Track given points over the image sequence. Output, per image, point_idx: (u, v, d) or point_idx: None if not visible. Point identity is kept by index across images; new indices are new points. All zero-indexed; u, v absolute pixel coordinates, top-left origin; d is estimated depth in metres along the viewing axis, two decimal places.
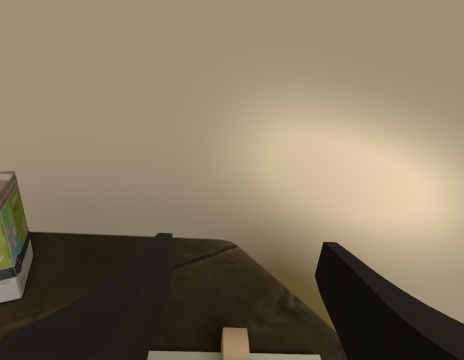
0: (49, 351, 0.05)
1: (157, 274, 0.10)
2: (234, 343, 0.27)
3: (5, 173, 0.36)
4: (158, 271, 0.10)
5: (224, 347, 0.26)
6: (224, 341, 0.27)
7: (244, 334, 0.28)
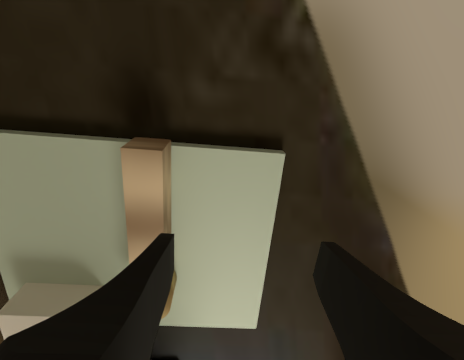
0: (54, 352, 0.05)
1: (160, 274, 0.10)
2: (140, 176, 0.17)
3: None
4: (161, 271, 0.10)
5: (124, 180, 0.17)
6: (124, 171, 0.17)
7: (156, 161, 0.17)
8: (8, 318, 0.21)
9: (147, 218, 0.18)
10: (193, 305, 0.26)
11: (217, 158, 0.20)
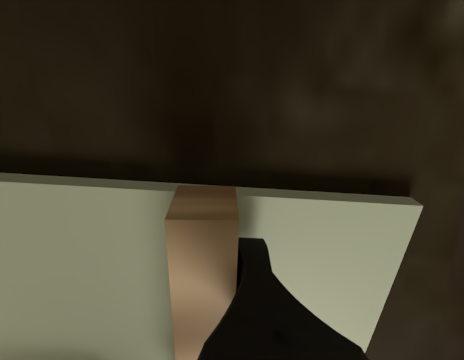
0: (267, 357, 0.05)
1: None
2: (198, 262, 0.10)
3: None
4: None
5: (171, 270, 0.10)
6: (170, 256, 0.10)
7: (228, 237, 0.09)
8: None
9: (208, 322, 0.11)
10: None
11: (317, 213, 0.13)
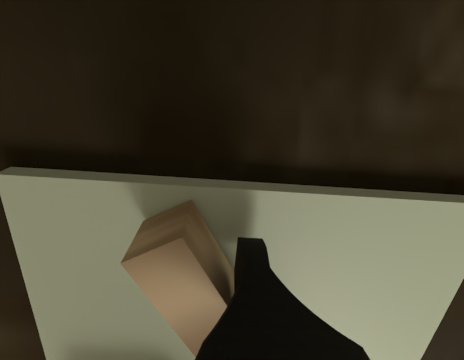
0: (264, 357, 0.05)
1: None
2: (172, 286, 0.10)
3: None
4: None
5: (155, 302, 0.10)
6: (146, 291, 0.10)
7: (182, 255, 0.10)
8: None
9: None
10: None
11: (397, 212, 0.13)
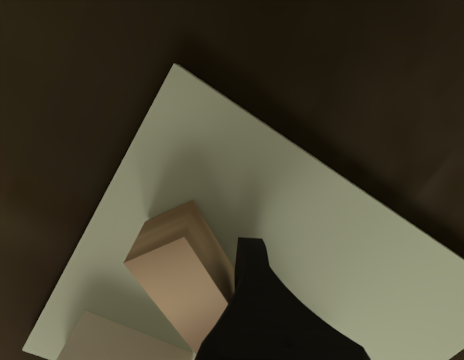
0: (264, 357, 0.05)
1: None
2: (174, 285, 0.10)
3: None
4: None
5: (157, 301, 0.11)
6: (149, 290, 0.10)
7: (184, 255, 0.10)
8: None
9: None
10: None
11: (462, 275, 0.15)
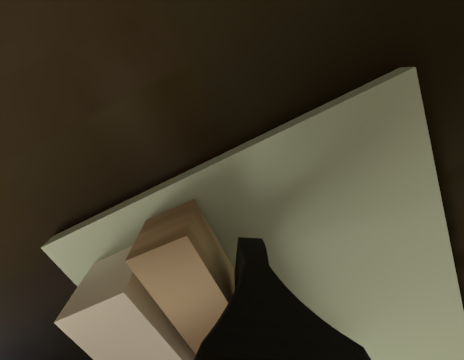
0: (263, 357, 0.05)
1: None
2: (175, 284, 0.10)
3: None
4: None
5: (158, 300, 0.11)
6: (150, 289, 0.10)
7: (186, 254, 0.10)
8: (129, 310, 0.10)
9: None
10: None
11: (458, 350, 0.17)
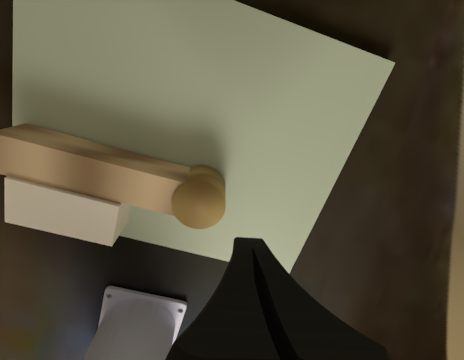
0: (234, 357, 0.05)
1: None
2: (22, 162, 0.16)
3: None
4: None
5: (29, 179, 0.17)
6: (19, 176, 0.17)
7: (3, 141, 0.16)
8: (19, 186, 0.16)
9: (75, 171, 0.17)
10: (229, 233, 0.22)
11: (320, 48, 0.17)
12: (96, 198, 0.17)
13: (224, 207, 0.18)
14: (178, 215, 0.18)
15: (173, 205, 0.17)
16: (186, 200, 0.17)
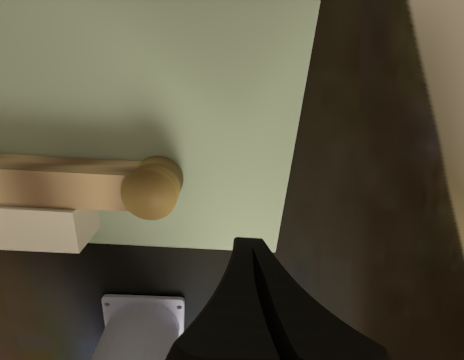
0: (234, 357, 0.05)
1: None
2: None
3: None
4: None
5: None
6: None
7: None
8: None
9: (22, 186, 0.17)
10: (202, 219, 0.22)
11: (235, 6, 0.16)
12: (50, 208, 0.18)
13: (175, 192, 0.17)
14: (132, 210, 0.17)
15: (124, 200, 0.17)
16: (135, 193, 0.17)
